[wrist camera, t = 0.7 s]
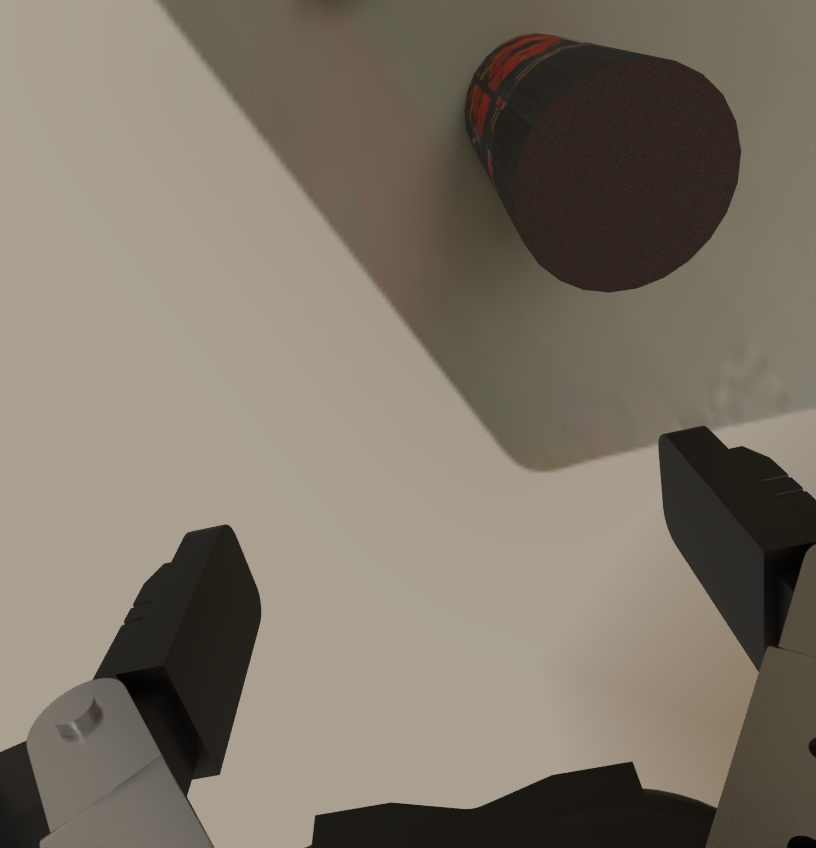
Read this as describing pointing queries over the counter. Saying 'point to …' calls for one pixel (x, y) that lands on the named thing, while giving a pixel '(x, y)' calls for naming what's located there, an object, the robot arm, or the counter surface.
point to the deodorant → (603, 157)
